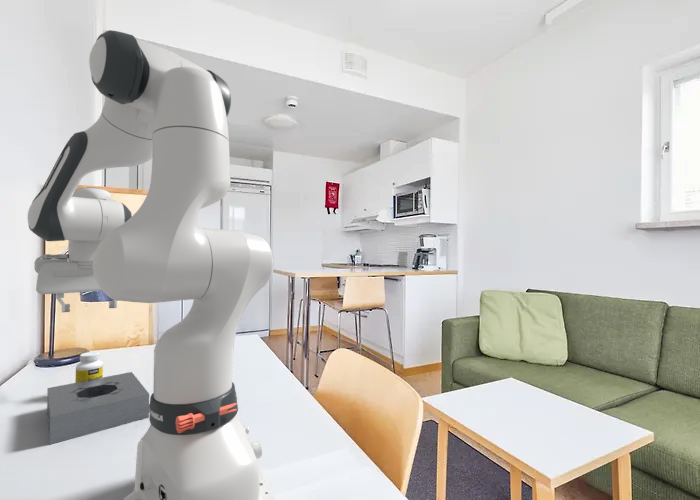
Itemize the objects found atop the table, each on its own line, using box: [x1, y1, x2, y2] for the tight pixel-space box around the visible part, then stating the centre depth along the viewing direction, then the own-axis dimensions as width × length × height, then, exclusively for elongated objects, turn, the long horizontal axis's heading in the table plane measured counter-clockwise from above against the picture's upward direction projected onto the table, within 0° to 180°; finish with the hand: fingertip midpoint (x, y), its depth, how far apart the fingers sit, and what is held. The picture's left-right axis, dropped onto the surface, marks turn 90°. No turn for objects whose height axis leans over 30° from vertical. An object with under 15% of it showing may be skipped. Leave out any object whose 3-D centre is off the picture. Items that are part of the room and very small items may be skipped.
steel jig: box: [46, 371, 150, 445], centre depth 76 cm, size 18×16×5 cm
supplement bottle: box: [74, 351, 104, 383], centre depth 87 cm, size 5×5×10 cm
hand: (90, 309), depth 87 cm, fingers open, 8 cm apart
